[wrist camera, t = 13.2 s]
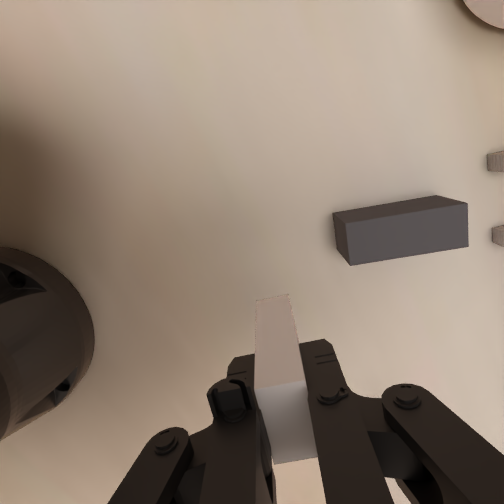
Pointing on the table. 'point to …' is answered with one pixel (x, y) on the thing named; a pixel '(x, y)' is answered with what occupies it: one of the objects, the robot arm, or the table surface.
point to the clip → (500, 164)
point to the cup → (488, 11)
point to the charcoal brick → (401, 229)
